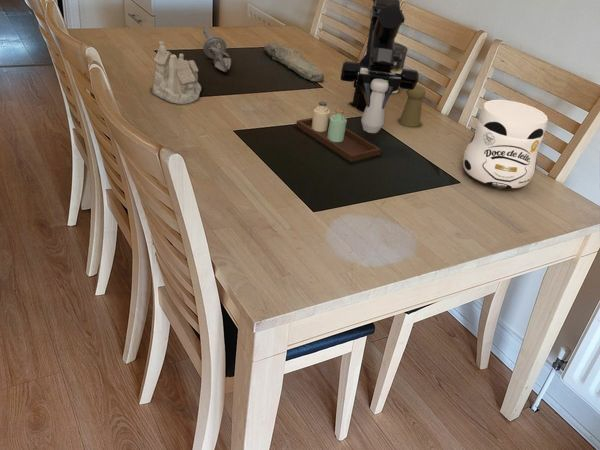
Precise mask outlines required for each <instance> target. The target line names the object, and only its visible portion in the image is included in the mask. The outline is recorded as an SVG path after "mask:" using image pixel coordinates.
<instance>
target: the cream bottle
mask: <svg viewBox="0 0 600 450" xmlns="http://www.w3.org/2000/svg"><path fill="white" fill-rule="evenodd" d="M327 105H328V102H326V101H319V102H318V106H316V107H315V108H313V112H312V118H313V119H312V127H311V128H312V129H313V130H315V131H318V132H324V131H327V128H328V122H329V118H330V113H331V111H330V110H329V108H328V107H327Z"/></svg>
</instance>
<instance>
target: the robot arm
mask: <svg viewBox="0 0 600 450" xmlns="http://www.w3.org/2000/svg"><path fill="white" fill-rule="evenodd" d="M372 3H373V4H372V5H371V10H370V16H369V21H370V22H369V30H368V37H367V45H366V49H365V54H364V56H363V57H362V58H361V60H360V61H359V62H356V61H348V60H345V61H344V62H342V67H341V71H340V72H341V73H340V80H341V81H342V82H348V83H353V85H352V86H353V88H354V89H355V90H354V92H353V98H352V101H349V105H350V106H352V107H354V108H356V109H358V110H359V111H361V112H364V111H365V108H366V105H367V107H369V105H370V95H371V92H372V89H371V87H370V85H371V82H372V80H374V79H383V80H388V84H389V87H388V90H387V91H386V92H385V97H384V101H383V107H382V109H384V107H385V108H386V105H387V103H388V100H389V98H390V97H391V95H392V94H391V93H392V92H393V91H397V90H398V88H399V89H402V90H413V89H414V88H415V86H417V84H418V82H419V76H420V73H419V72H418V70H416V69H407V68H403V70H402V73H401V74H398V73H391V70H393V67H394V62H401V61H402V58H403V48H395V50H394V43H395V40H396V39H395V38H396V37H397V35H398V33H399V30H400V27H401V26H402V25H403V24H405V18H406V17H405V15H404V13H403V9H401V1H400V0H372Z"/></svg>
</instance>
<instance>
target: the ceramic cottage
mask: <svg viewBox="0 0 600 450" xmlns="http://www.w3.org/2000/svg"><path fill="white" fill-rule="evenodd" d="M158 45H159V46H158V47H157V48H158V49H157V53H156V55H155V56H154V57H153V62H154V67H155V68H154V69H155V71H154V72H153V74H154V76H153V78H154V80H153V84H152V89H151V92H152V94H154V95H155V96H156V97H159V98H161V99H163V100H164V101H166V102H169V103H172V104H178V105H185V104H190V103H194V102H196V101H197V100H199V97H200V94H201V91H202V86H201V84H200V83H199V81H198V80H199V78H198V77H199V73H198V72H199V68H198V67H197V64H196V62H195V61H194V60H193V59H191V60H187V59H184V57H185V56H184V53H179V55H178V57H177V55H176V54H173V53H171V51H169V50H167V49H166V46H165V45H164V41H163V40H161V41H159V42H158Z"/></svg>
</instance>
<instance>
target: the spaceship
mask: <svg viewBox="0 0 600 450" xmlns="http://www.w3.org/2000/svg"><path fill="white" fill-rule="evenodd" d="M202 31H203V35H204V37H205V38H206V40H205V42H204V43H203V46H202V47H203V53H204V55H205V56H206V57H207V58H209V59H211V60H212V59H213V65H214V67H215V68H216V69H218V70H219V71H222V72H224V73H228V72H229V70H230V69H231V65H232V59H231V57H230V55H229V54H228V53H227V52H226V51H227V43H226V41H225V40H224V38H222V37H220V36H216V35H215V34H211V30H210V28H209V27H208V26H207V25H205V26H204V27H203V29H202ZM224 55H225V56H227V57H224Z"/></svg>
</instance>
